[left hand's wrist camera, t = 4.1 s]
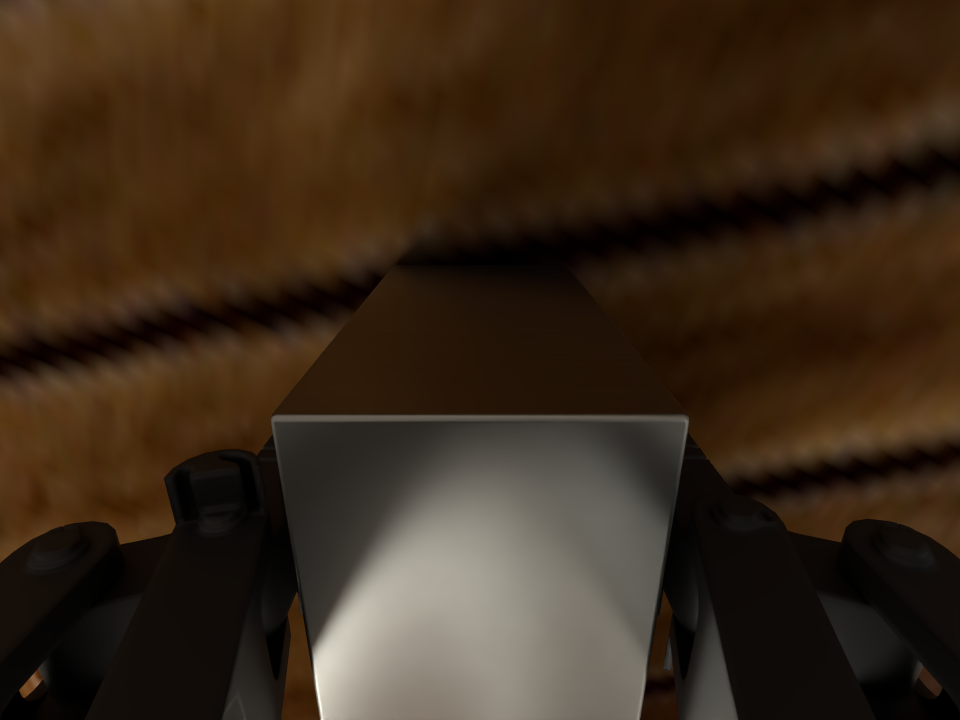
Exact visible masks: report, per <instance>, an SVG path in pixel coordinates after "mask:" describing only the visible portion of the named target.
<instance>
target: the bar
mask: <svg viewBox="0 0 960 720" xmlns="http://www.w3.org/2000/svg"><path fill="white" fill-rule="evenodd" d="M271 424H272V430H273V436H274V442H275V448H276V454H277V460H278V466H279V473H280V479H281V485H282V491H283V497H284V503H285V509H286V515H287V521H288V527H289V533H290V539H291V545H292V551H293V557H294V563H295V569H296V575H297V582H298V588H299V594H300V600H301V606H302V612H303V618H304V624H305V630H306V636H307V642H308V648H309V654H310V660H311V666H312V672H313V678H314V684H315V691H316V697H317V703H318V709H319V715H320V720H640V716H641V710H642V704H643V698H644V692H645V686H646V680H647V674H648V668H649V662H650V655H651V649H652V643H653V637H654V631H655V625H656V619H657V613H658V607H659V601H660V595H661V589H662V583H663V577H664V571H665V565H666V559H667V553H668V547H669V541H670V535H671V529H672V523H673V516H674V510H675V504H676V498H677V492H678V486H679V480H680V474H681V468H682V462H683V456H684V450H685V444H686V438H687V432H688V426H689V416H688V414H687V413H686V411H685V410H684V409H683V408H682V407H681V405H680V404H679V403H678V402H677V400H676V399H675V398H674V397H673V395H672V394H671V393H670V392H669V391H668V389H667V388H666V387H665V386H664V384H663V383H662V382H661V381H660V380H659V378H658V377H657V376H656V375H655V373H654V372H653V371H652V370H651V368H650V367H649V366H648V365H647V364H646V362H645V361H644V360H643V359H642V357H641V356H640V355H639V354H638V352H637V351H636V350H635V349H634V348H633V346H632V345H631V344H630V343H629V341H628V340H627V339H626V338H625V336H624V335H623V334H622V333H621V332H620V330H619V329H618V328H617V327H616V325H615V324H614V323H613V322H612V321H611V319H610V318H609V317H608V316H607V314H606V313H605V312H604V311H603V309H602V308H601V307H600V306H599V305H598V303H597V302H596V301H595V300H594V298H593V297H592V296H591V295H590V293H589V292H588V291H587V290H586V289H585V287H584V286H583V285H582V284H581V282H580V281H579V280H578V279H577V277H576V276H575V275H574V274H573V273H572V271H571V270H570V269H569V268H568V266H566V265H394V266H393V267H392V268H391V269H390V271H389V272H388V273H387V274H386V276H385V277H384V278H383V279H382V280H381V282H380V283H379V284H378V285H377V287H376V288H375V289H374V290H373V291H372V293H371V294H370V295H369V296H368V298H367V299H366V300H365V301H364V303H363V304H362V305H361V306H360V307H359V309H358V310H357V311H356V312H355V314H354V315H353V316H352V317H351V318H350V320H349V321H348V322H347V323H346V325H345V326H344V327H343V328H342V329H341V331H340V332H339V333H338V334H337V336H336V337H335V338H334V339H333V341H332V342H331V343H330V344H329V345H328V347H327V348H326V349H325V350H324V352H323V353H322V354H321V355H320V356H319V358H318V359H317V360H316V361H315V363H314V364H313V365H312V366H311V368H310V369H309V370H308V371H307V372H306V374H305V375H304V376H303V377H302V379H301V380H300V381H299V382H298V383H297V385H296V386H295V387H294V388H293V390H292V391H291V392H290V393H289V395H288V396H287V397H286V398H285V399H284V401H283V402H282V403H281V404H280V406H279V407H278V408H277V409H276V410H275V412H274V413H273V414H272V417H271Z"/></svg>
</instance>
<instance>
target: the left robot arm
mask: <svg viewBox="0 0 960 720" xmlns="http://www.w3.org/2000/svg"><path fill="white" fill-rule="evenodd" d="M697 446H698V445H697V444H696V443H695V441H694V440H693V439H692V437H691V436H690V435H689V433H688V432H687V438H686V444H685V450H684V456H683V462H682V468H681V474H680V480H679V486H678V492H677V498H676V504H675V510H674V516H673V523H672V529H671V535H670V541H669V547H668V553H667V559H666V565H665V571H664V577H663V583H662V589H661V595H660V601H659V607H658V613H657V615H659V613H660V607H661V601H662V595H663V589H664V591H665V593H666V596H667V598H668V601H669V603H670V605H671V608H672V610H673V614H672V620H671V625H670V631H669V637H668V642H667V648H666V653H665V659H664V666H663V669H666V670H670V669H671V663H673V672H674V680H675V688H676V697H677V705H678V714H679V720H960V559H959V558H958V557H956V556H955V555H954V554H953V553H952V552H950V551H949V550H948V549H947V548H945V547H944V546H942V545H941V544H939V543H938V542H936V541H935V540H933V539H932V538H930V537H928V536H926V535H924V534H922V533H920V532H918V531H915V530H914V529H912V528H910V527H907V526H904V525H901V524H897V523H894V522H889V521H882V520H873V519H864V520H858V521H853V522H852V523H851V524H850V525H848V526H847V527H846V529H845V532H844V535H843V538H842V541H841V542H836V541H831V540H826V539H821V538H816V537H811V536H806V535H801V534H798V533H794V532H790V531H787V529H786V527H785V525H784V523H783V522H782V520H781V519H780V518H779V517H778V515H777V514H776V513H775V512H774V511H772V510H771V509H769V508H768V507H767V506H765V505H764V504H762V503H760V502H758V501H755V500H753V499H751V498H749V497H746V496H742V495H738V494H734V493H733V491H732V490H731V489H730V488H729V486H728V485H727V484H726V482H725V481H724V480H723V478H722V477H721V476H720V474H719V473H718V472H717V470H716V469H715V468H714V466H713V465H712V464H711V462H710V461H709V460H706V456H705V455H704V453H703V452H702V451H701V449H700V448H698V447H697ZM164 481H165V485H166V488H167V492H168V496H169V500H170V504H171V507H172V511H173V515H174V519H175V523H176V525H175V528H174V530H173V532H172V533H171V534H168V535H164V536H160V537H155V538H151V539H146V540H141V541H136V542H131V543H126V544H121V545H120V543H119V540H118V537H117V534H116V530H115V529H114V528H113V527H111V526H110V525H109V524H108V523H102V522H95V521H91V522H82V523H73V524H69V525H65V526H64V527H62V526H61V527H58V528H55V529H52V530H50V531H48V532H47V533H45V534H42V535H40V536H38V537H36V538H34V539H32V540H30V541H29V542H27V543H26V544H24V545H23V546H21V547H20V548H18V549H17V550H16V551H14V552H13V553H12V554H10V555H9V556H8V557H7V558H6V559H4V560H3V561H2V562H1V563H0V720H281V715H282V707H283V698H284V690H285V681H286V673H287V664H288V656H289V647H290V639H291V633H290V626H289V620H288V611H289V609H290V606H291V604H292V602H293V599H294V597H295V595H296V592H297V593H298V599H299V605H300V611H301V615H303V612H302V606H301V600H300V594H299V588H298V582H297V575H296V569H295V563H294V557H293V551H292V545H291V539H290V533H289V527H288V521H287V515H286V509H285V503H284V497H283V491H282V485H281V479H280V473H279V466H278V460H277V454H276V448H275V442H274V436H273V435H272V436H271V437H270V439H269V440H268V441H267V443H266V444H265V445H264V447H263V450H261V451H260V452H259V453H258V455H257V456H256V455H255V454H254V453H252V452H249V451H245V450H240V449H227V450H218V451H213V452H208V453H204V454H201V455H199V456H196V457H193V458H190V459H188V460H186V461H184V462H183V463H181V464H179V465H178V466H176V467H174V468H173V469H172V470H171V471H170V472H169V473H168V474H167V475H166V476H165V478H164ZM923 666H924V667H925V668H926V669H927V670H928V671H929V673H930V674H931V675H932V676H933V677H934V678H935V679H936V680H937V682H938V683H939V684H940V685H941V686H942V687H943V689H942V691H941V693H940V695H939V696H938V697H937V696H935V695H934V694H933V693H932V692H931V691H930V690H929V689H928V688H927V687H926V686H925V685H924V684H923V683H922V681H921V680H920V679H919V678H918V676H919V674H920V672H921V669H922V667H923ZM38 668H39V671H40V673H41V675H42V677H43V680H42V681H41V683H40V684H39V685H38V686H37V687H36V688H35V690H34V691H32V692H31V693H30V694H29V695H28V696H27V697H25V698H23V697H22V696H21V694H20V692H19V690H20V688H21V687H22V686H23V685H24V684H25V683H26V682H27V680H28V679H29V678H30V677H31V676H32V675H33V674H34V672H35V671H36V670H37V669H38Z"/></svg>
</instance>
